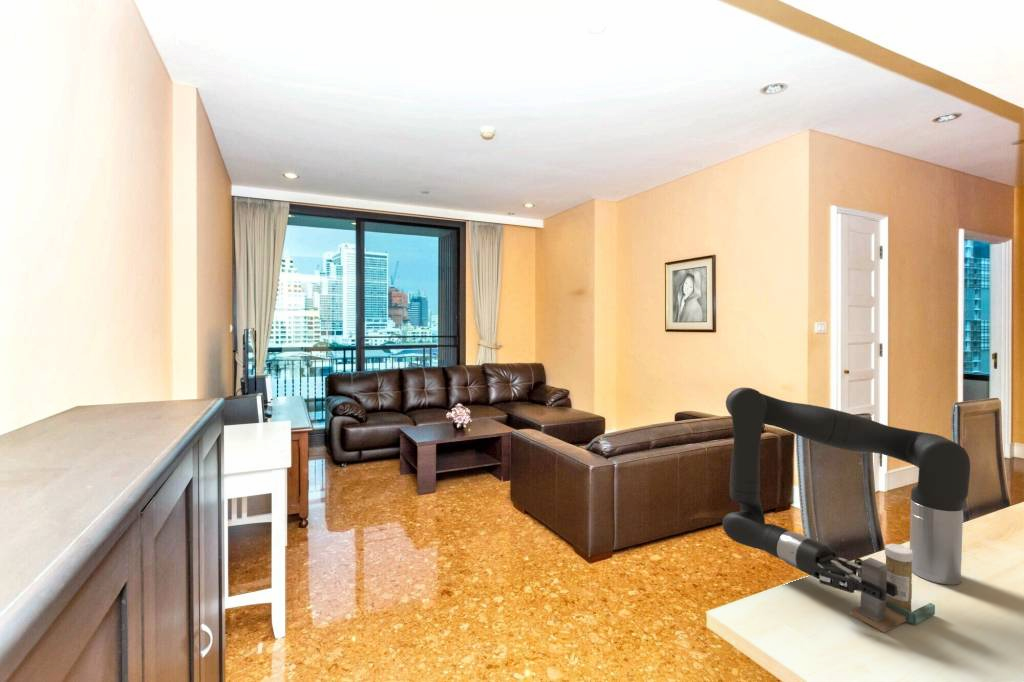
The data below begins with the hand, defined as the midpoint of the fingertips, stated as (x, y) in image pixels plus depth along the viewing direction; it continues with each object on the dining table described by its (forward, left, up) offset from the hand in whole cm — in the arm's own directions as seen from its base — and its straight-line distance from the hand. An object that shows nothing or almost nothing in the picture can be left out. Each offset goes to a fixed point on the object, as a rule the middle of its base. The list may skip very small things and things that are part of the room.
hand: (890, 593), depth 93 cm
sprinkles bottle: (-9, -3, -8) cm, 12 cm away
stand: (-6, -3, -7) cm, 10 cm away
